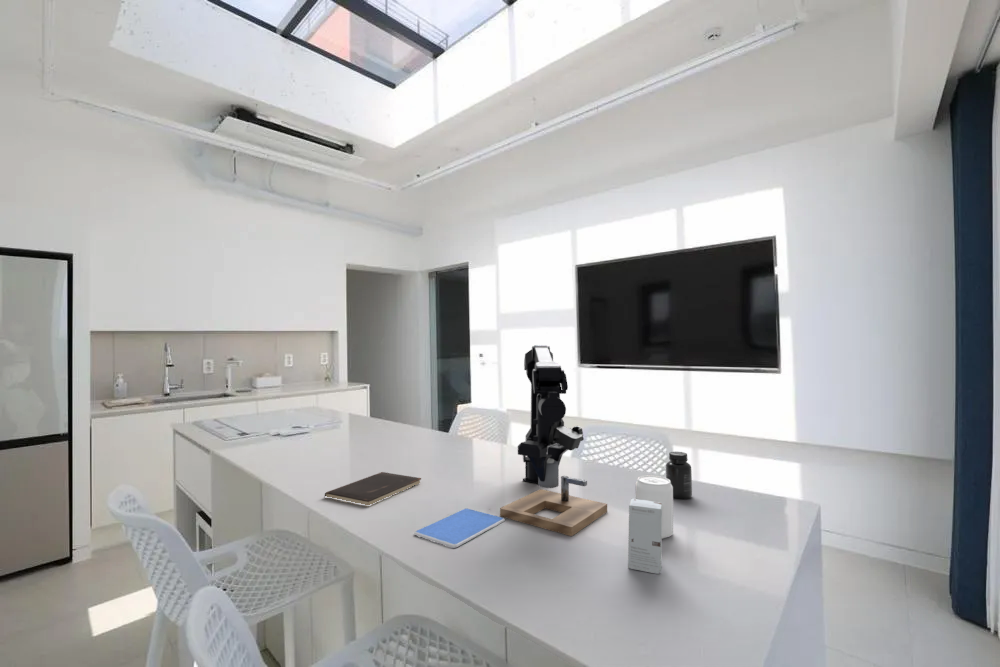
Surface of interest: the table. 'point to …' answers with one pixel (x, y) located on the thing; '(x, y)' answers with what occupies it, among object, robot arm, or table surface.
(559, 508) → the base board
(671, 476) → the supplement bottle
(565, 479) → the hook post
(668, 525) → the beverage can
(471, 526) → the tablet computer
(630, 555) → the skincare box
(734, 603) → the table surface
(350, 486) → the hardcover book
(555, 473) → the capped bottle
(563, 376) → the robot arm
